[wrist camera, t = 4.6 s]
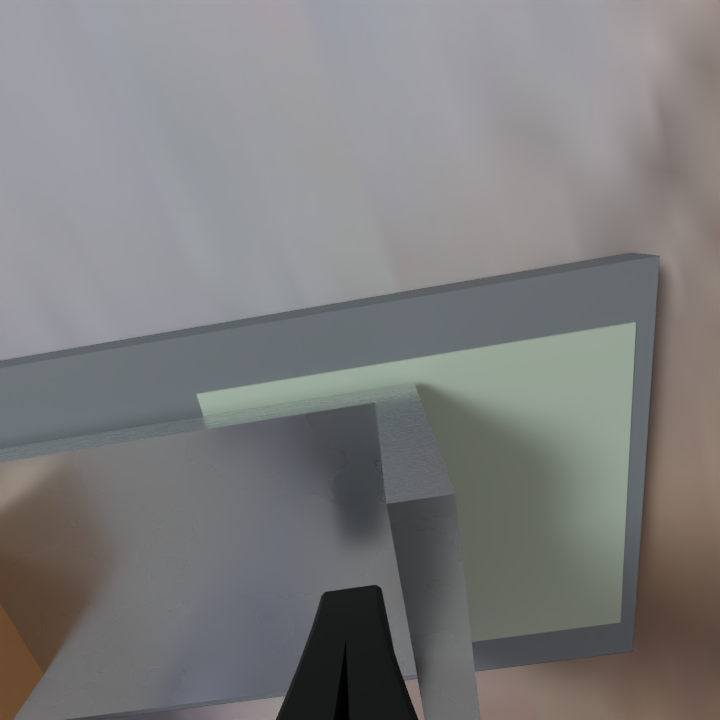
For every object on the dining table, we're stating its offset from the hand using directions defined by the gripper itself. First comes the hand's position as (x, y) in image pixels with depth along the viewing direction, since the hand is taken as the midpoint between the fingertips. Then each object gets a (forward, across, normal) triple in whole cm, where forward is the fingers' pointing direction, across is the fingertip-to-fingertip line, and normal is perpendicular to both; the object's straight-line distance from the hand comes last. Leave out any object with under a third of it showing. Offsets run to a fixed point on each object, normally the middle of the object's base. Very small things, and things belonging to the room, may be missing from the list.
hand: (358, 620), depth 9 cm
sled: (+2, +7, 0) cm, 8 cm away
